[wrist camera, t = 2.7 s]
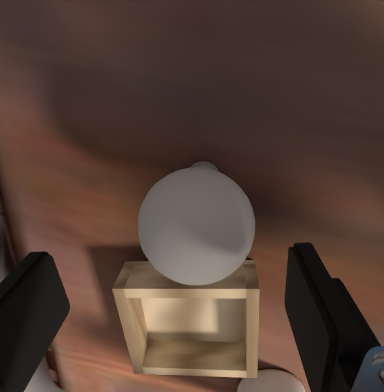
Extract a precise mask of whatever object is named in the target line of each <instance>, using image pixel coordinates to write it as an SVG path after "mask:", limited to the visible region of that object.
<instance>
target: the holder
mask: <svg viewBox="0 0 384 392" xmlns="http://www.w3.org/2000/svg"><path fill="white" fill-rule="evenodd" d="M112 290H113V294H114V298H115V301H116V305H117V309H118V313H119V317H120V320H121V324H122V328H123V332H124V336H125V340H126V343H127V347H128V351H129V355H130V359H131V362H132V366H133V370H134V374H160V375H187V376H214V377H241V378H257V368H258V327H259V284H258V278H257V273H256V267H255V262H254V260H245V261H244V262H243V263H242V264H241V266H240V267H239V268H238V269H237V270H235V271H234V272H233V273H231V274H230V275H229V276H228V277H226V278H224V279H222V280H220V281H218V282H214V283H211V284H206V285H186V284H181V283H178V282H175V281H173V280H171V279H169V278H167V277H166V276H164V275H163V274H161V273H160V272H159V271H157V270H156V269H155V268H154V266H153V265H152V264H151V263H150V262H149V261H125V263H124V265H123V267H122V269H121V272H120V274H119V276H118V278H117V280H116V282H115V284H114V286H113V288H112Z"/></svg>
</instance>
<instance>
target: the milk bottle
mask: <svg viewBox="0 0 384 392" xmlns="http://www.w3.org/2000/svg"><path fill="white" fill-rule="evenodd" d="M237 392H305V388H304V386H303V385H302V383H301V382H300V381H299V379H297V378H296V377H295V376H294V375H292V374H290V373H287V372H285V371H281V370H274V369H264V370H258V371H257V378H243V379H242V380H241V381H240V383H239V386H238V389H237Z"/></svg>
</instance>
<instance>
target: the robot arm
mask: <svg viewBox="0 0 384 392" xmlns="http://www.w3.org/2000/svg"><path fill="white" fill-rule="evenodd" d="M285 309H286V312H287V316H288V319H289V322H290V325H291V329H292V332H293V335H294V338H295V342H296V345H297V348H298V351H299V355H300V358H301V361H302V364H303V368H304V371H305V374H306V377H307V381H308V384H309V387H310V390H311V392H384V346H381V345H380V343H379V342H378V340H377V338H376V337H375V335H374V333H373V332H372V330H371V328H370V327H369V325H368V323H367V322H366V320H365V319H364V317H363V315H362V314H361V312H360V310H359V309H358V307H357V305H356V304H355V302H354V300H353V299H352V297H351V295H350V294H349V292H348V291H347V289H346V287H345V286H344V284H343V282H342V281H341V280H340V279H338V278H331V277H330V275H329V273H328V271H327V270H326V268H325V266H324V264H323V263H322V261H321V259H320V257H319V255H318V254H317V252H316V250H315V248H314V247H313V245H312V244H311V243H295V244H294V247H289V250H288V263H287V276H286V289H285ZM69 310H70V304H69V301H68V298H67V295H66V292H65V290H64V287H63V284H62V281H61V279H60V276H59V273H58V270H57V268H56V265H55V262H54V259H53V257H52V256H51V255H49V254H48V253H47V252H30V253H29V254H28V255H27V256H26V257H25V258H24V259H23V260H22V261H21V262H20V263H19V264H18V265H17V266H16V267H15V268H14V269H13V270H12V271H11V273H10V274H9V275H8V276H7V277H6V278H5V279H4V280H3V281H2V282H1V283H0V392H24V390H25V388H26V386H27V385H28V383H29V381H30V380H31V378H32V376H33V374H34V373H35V371H36V369H37V367H38V366H39V364H40V362H41V360H42V359H43V357H44V355H45V353H46V352H47V350H48V348H49V346H50V345H51V343H52V341H53V339H54V338H55V336H56V334H57V332H58V331H59V329H60V327H61V325H62V324H63V322H64V320H65V318H66V317H67V315H68V313H69Z"/></svg>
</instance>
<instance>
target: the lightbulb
mask: <svg viewBox="0 0 384 392" xmlns="http://www.w3.org/2000/svg"><path fill="white" fill-rule="evenodd" d="M138 234H139V240H140V245H141V247H142V250H143V252H144V254H145V255H146V257H147V259H148V260H149V262H150V263H151V264H152V265H153V266H154V268H155V269H156V270H157V271H159V272H160V273H161V274H163V275H164V276H166V277H167V278H169V279H171V280H173V281H175V282H178V283H181V284H186V285H206V284H211V283H214V282H218V281H220V280H222V279H224V278H226V277H228V276H229V275H230V274H231V273H233V272H234V271H235V270H237V269H238V268H239V267H240V266H241V264H242V263H243V262H244V261H245V259H246V257H247V255H248V253H249V251H250V249H251V247H252V244H253V240H254V235H255V218H254V213H253V209H252V206H251V204H250V201H249V199H248V197H247V196H246V194H245V193H244V192H243V190H242V189H241V188H240V187H239V186H238V185H237V184H236V183H235V182H234V181H233V180H232V179H231V178H229V177H227V176H226V175H224V174H222V173H220V172H219V171H218V169H217V168H216V167H215V166H214V165H213V164H212V163H210V162H206V161H200V162H197V163H194V164H193V165H192V166H191V167H190V168H186V169H181V170H178V171H175V172H173V173H171V174H169V175H167V176H165V177H164V178H163V179H161V180H160V181H158V182H157V183H156V184H155V185H154V186H153V187H152V188H151V189H150V190H149V192H148V194H147V196H146V197H145V199H144V201H143V203H142V205H141V208H140V212H139V217H138Z"/></svg>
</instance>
